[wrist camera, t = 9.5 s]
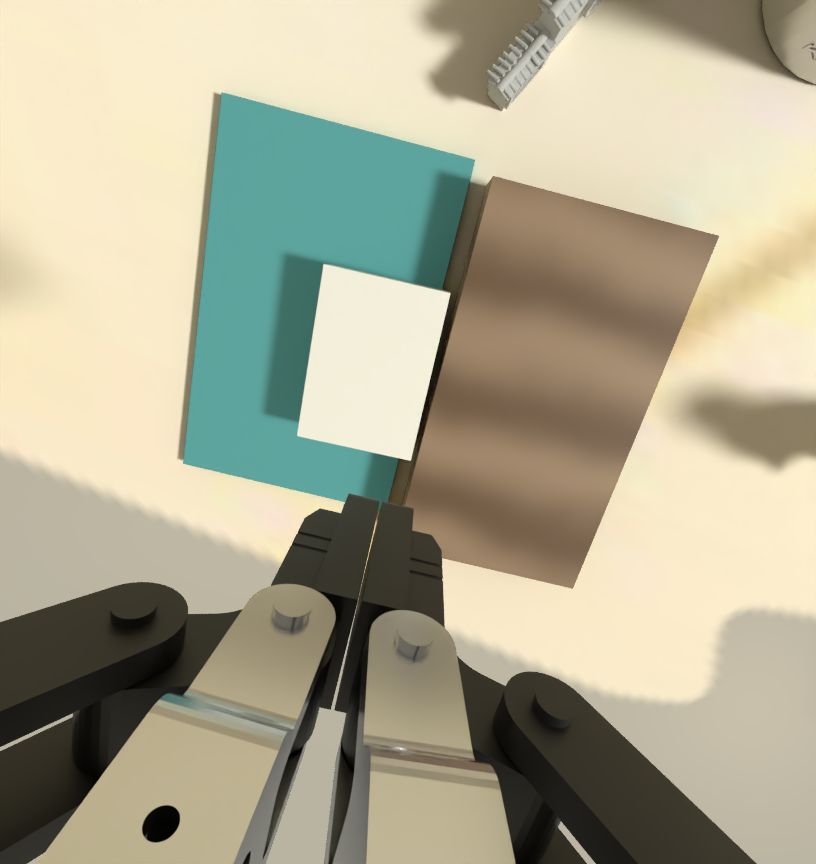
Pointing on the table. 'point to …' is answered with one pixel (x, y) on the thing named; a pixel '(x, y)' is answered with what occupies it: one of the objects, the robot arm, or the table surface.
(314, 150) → the teal mat
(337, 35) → the table surface
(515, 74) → the grey bracket plate
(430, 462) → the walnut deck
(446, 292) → the ivory tile
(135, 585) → the robot arm
